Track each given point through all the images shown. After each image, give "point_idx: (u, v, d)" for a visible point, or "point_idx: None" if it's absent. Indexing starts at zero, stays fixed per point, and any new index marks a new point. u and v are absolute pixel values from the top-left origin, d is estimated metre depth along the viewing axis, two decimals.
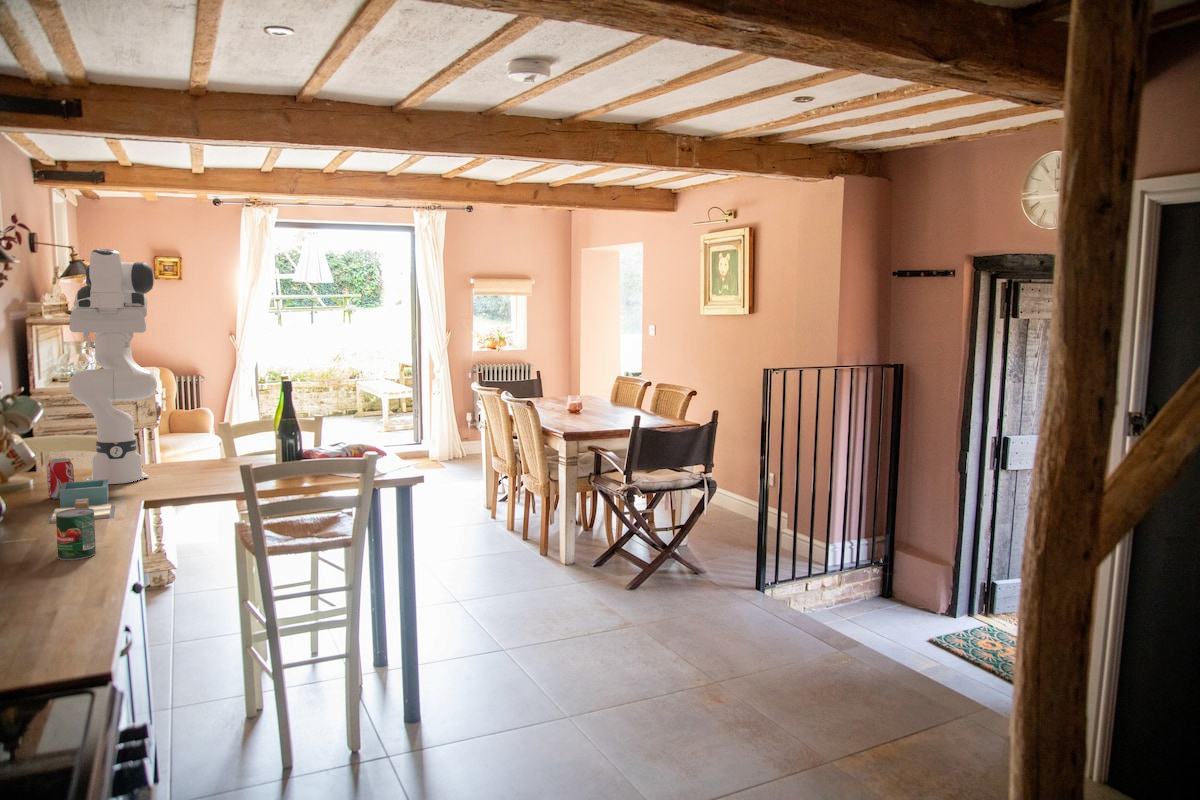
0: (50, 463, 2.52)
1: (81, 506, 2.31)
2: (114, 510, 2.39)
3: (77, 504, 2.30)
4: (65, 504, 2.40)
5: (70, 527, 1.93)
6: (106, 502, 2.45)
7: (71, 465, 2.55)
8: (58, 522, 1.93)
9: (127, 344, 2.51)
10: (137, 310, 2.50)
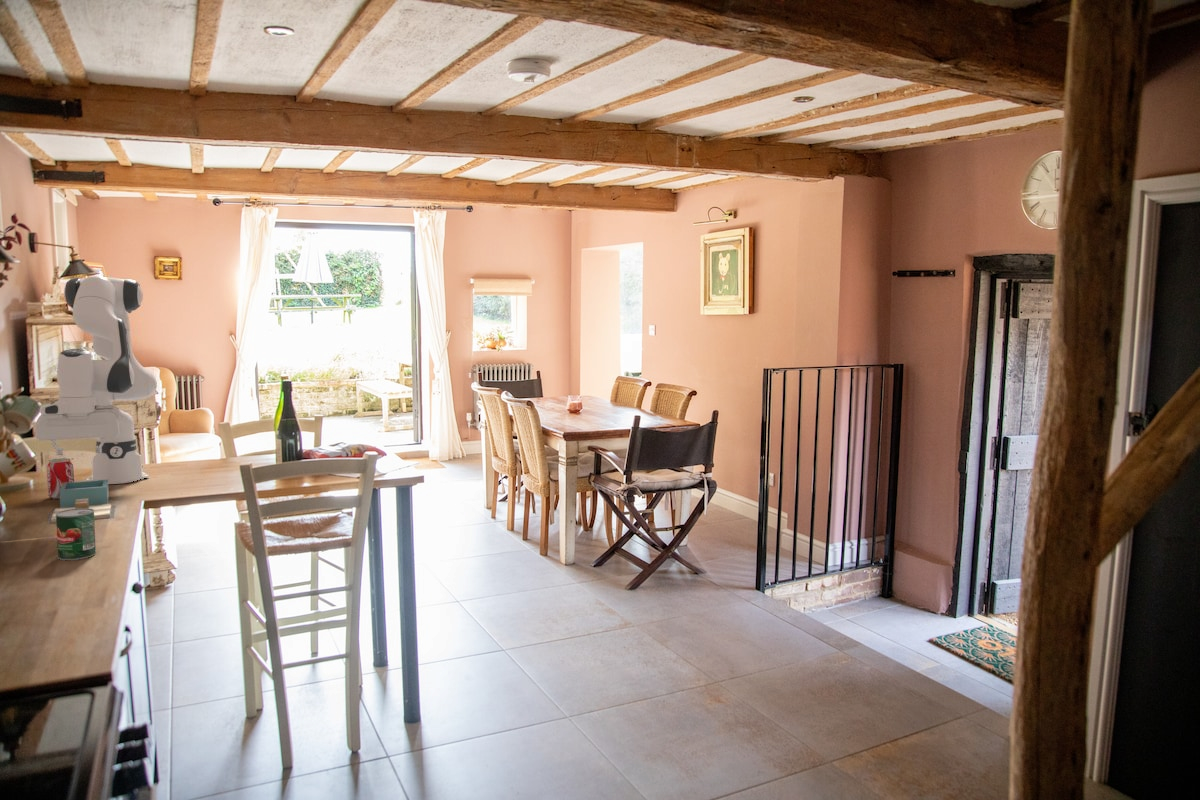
0: (50, 463, 2.52)
1: (81, 506, 2.31)
2: (114, 510, 2.39)
3: (77, 504, 2.30)
4: (65, 504, 2.40)
5: (70, 527, 1.93)
6: (106, 502, 2.45)
7: (71, 465, 2.55)
8: (58, 522, 1.93)
9: (98, 450, 2.33)
10: (109, 413, 2.33)
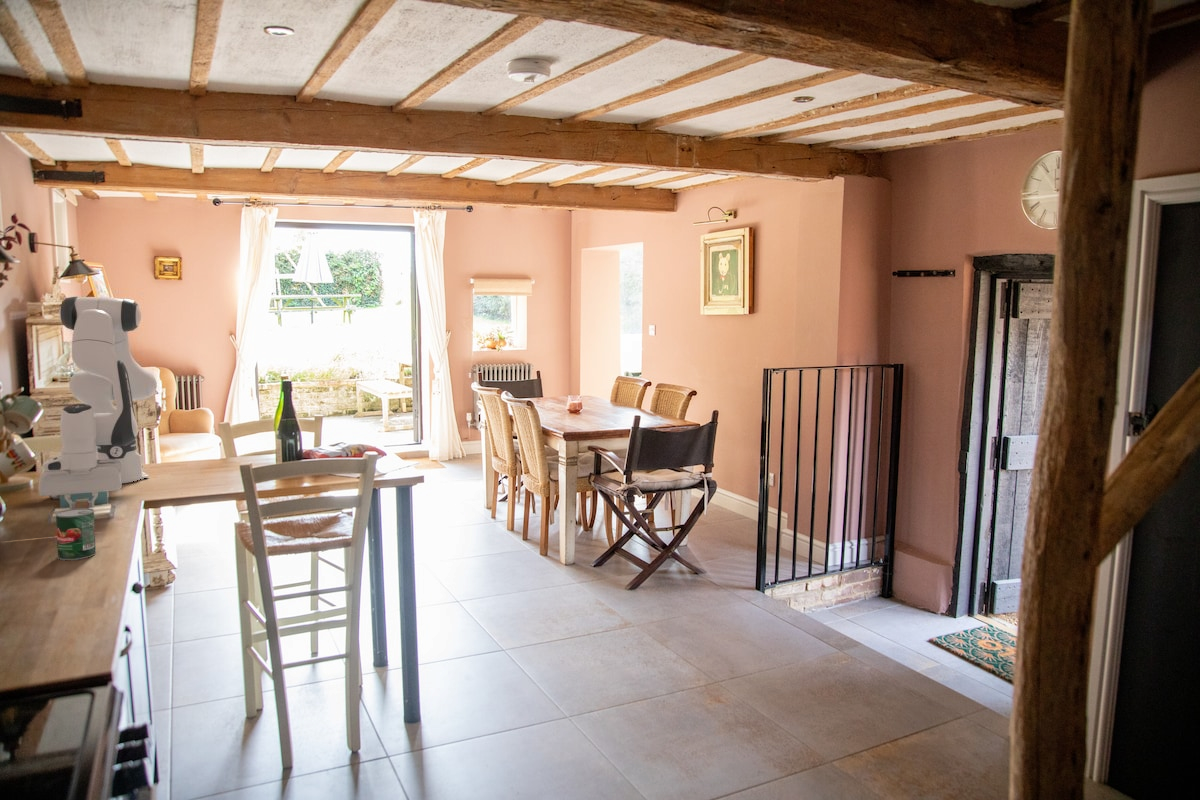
0: None
1: (81, 506, 2.31)
2: (114, 510, 2.39)
3: (77, 504, 2.30)
4: (65, 504, 2.40)
5: (70, 527, 1.93)
6: (106, 502, 2.45)
7: None
8: (58, 522, 1.93)
9: (91, 504, 2.34)
10: (112, 467, 2.35)
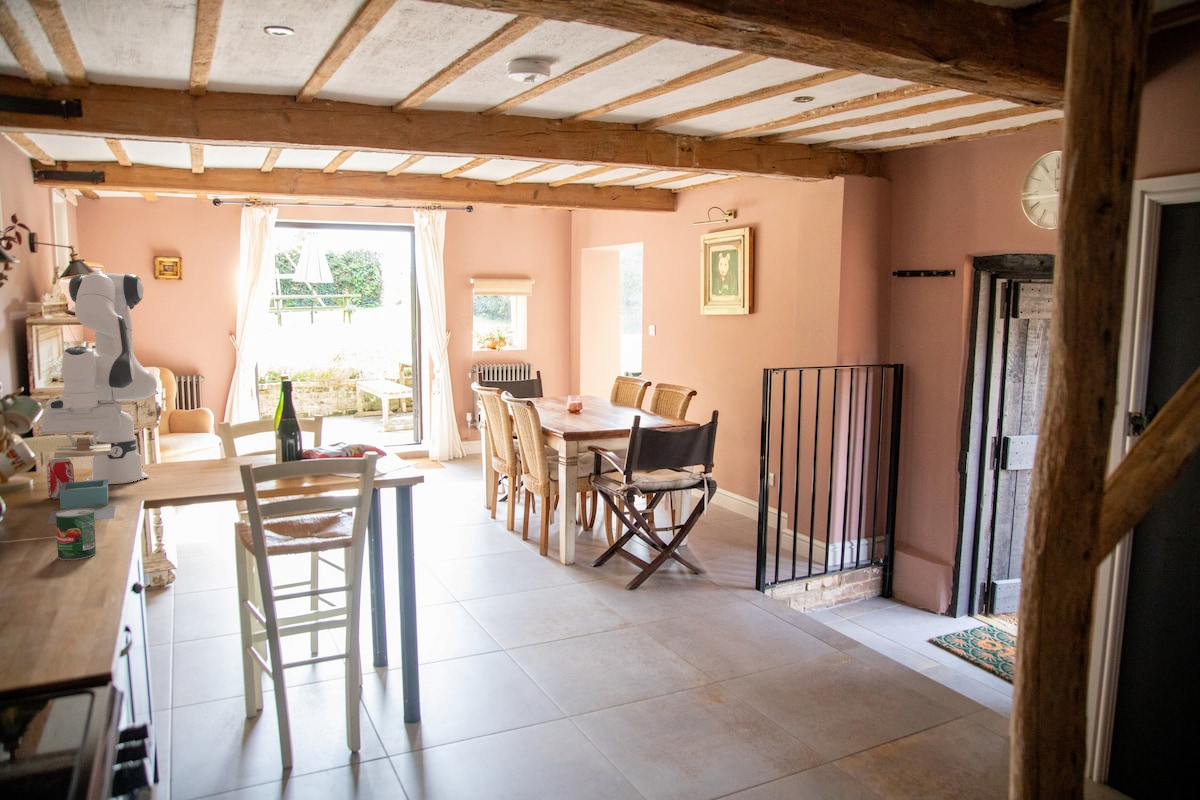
0: (50, 463, 2.52)
1: (82, 444, 2.42)
2: (114, 510, 2.39)
3: (79, 442, 2.42)
4: (65, 504, 2.40)
5: (70, 527, 1.93)
6: (106, 502, 2.45)
7: (71, 465, 2.55)
8: (58, 522, 1.93)
9: (92, 443, 2.45)
10: (111, 408, 2.46)
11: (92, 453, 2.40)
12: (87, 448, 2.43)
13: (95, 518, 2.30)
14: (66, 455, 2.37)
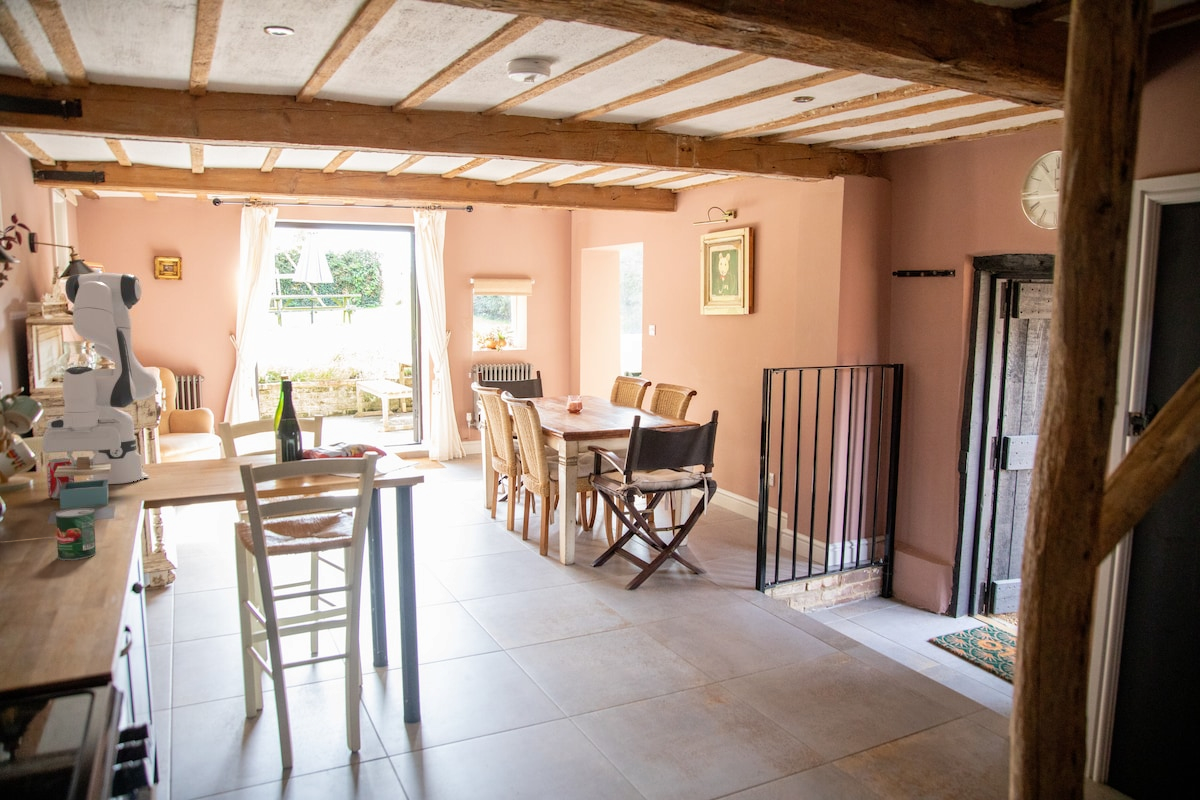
0: (50, 463, 2.52)
1: (82, 463, 2.43)
2: (114, 510, 2.39)
3: (79, 461, 2.43)
4: (65, 504, 2.40)
5: (70, 527, 1.93)
6: (106, 502, 2.45)
7: None
8: (58, 522, 1.93)
9: (92, 462, 2.46)
10: (111, 427, 2.47)
11: (92, 472, 2.41)
12: (87, 467, 2.44)
13: (95, 518, 2.30)
14: (66, 474, 2.38)
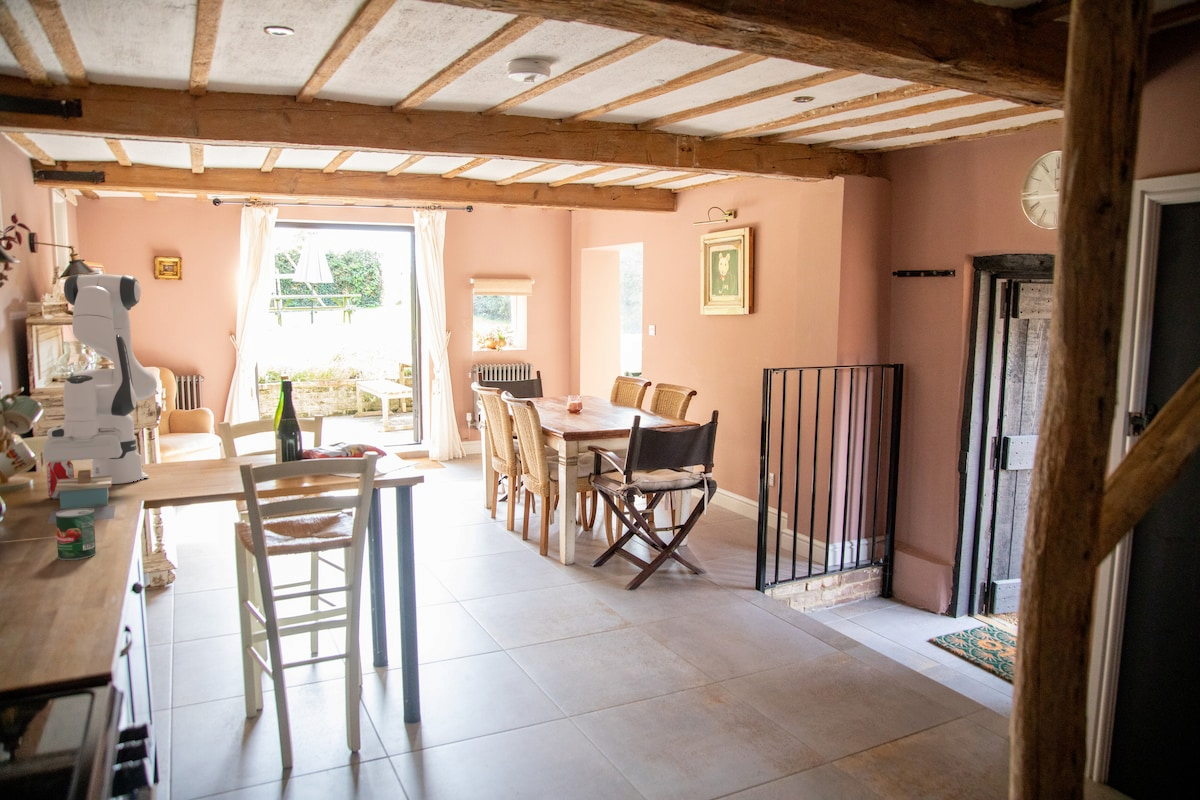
0: (50, 463, 2.52)
1: (84, 476, 2.44)
2: (114, 510, 2.39)
3: (80, 474, 2.44)
4: (65, 504, 2.40)
5: (70, 527, 1.93)
6: (106, 502, 2.45)
7: (71, 465, 2.55)
8: (58, 522, 1.93)
9: (98, 470, 2.48)
10: (112, 436, 2.48)
11: (93, 486, 2.42)
12: (88, 481, 2.45)
13: (95, 518, 2.30)
14: (67, 488, 2.39)
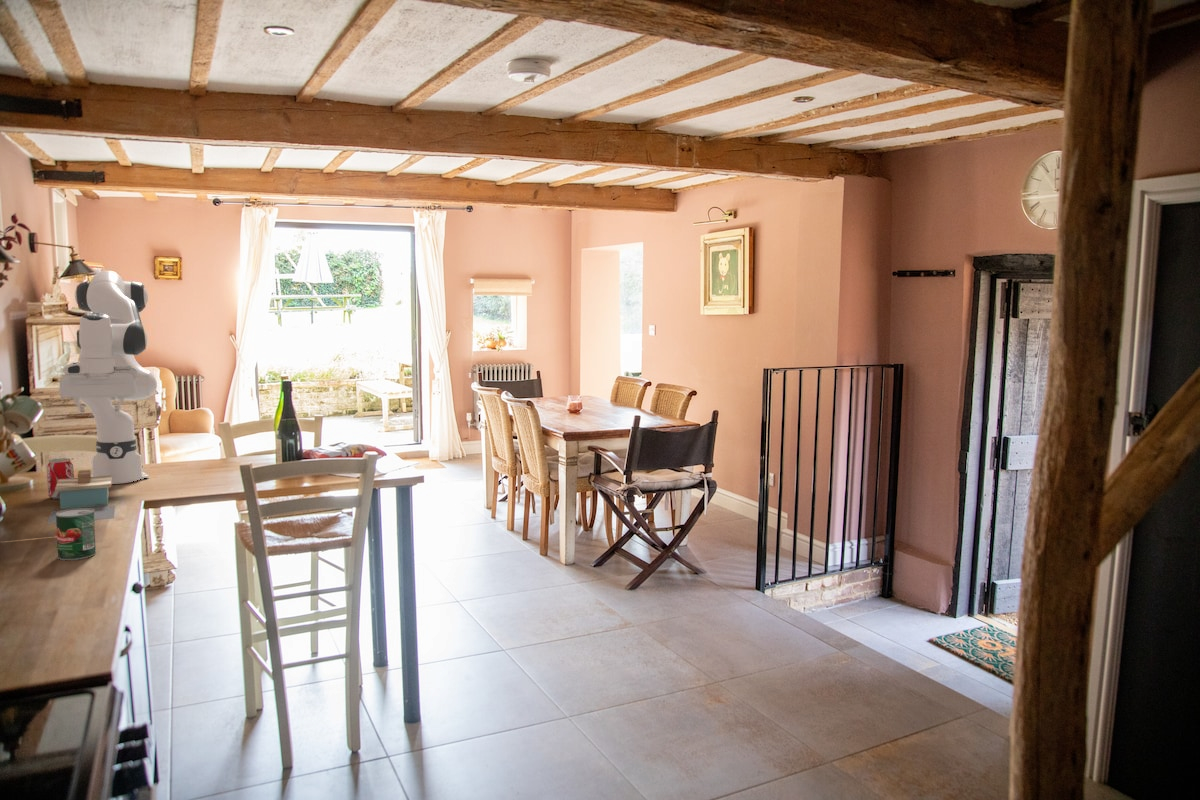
0: (50, 463, 2.52)
1: (84, 476, 2.44)
2: (114, 510, 2.39)
3: (80, 474, 2.44)
4: (65, 504, 2.40)
5: (70, 527, 1.93)
6: (106, 502, 2.45)
7: (71, 465, 2.55)
8: (58, 522, 1.93)
9: (117, 408, 2.49)
10: (127, 374, 2.49)
11: (93, 486, 2.42)
12: (88, 481, 2.45)
13: (95, 518, 2.30)
14: (67, 488, 2.39)
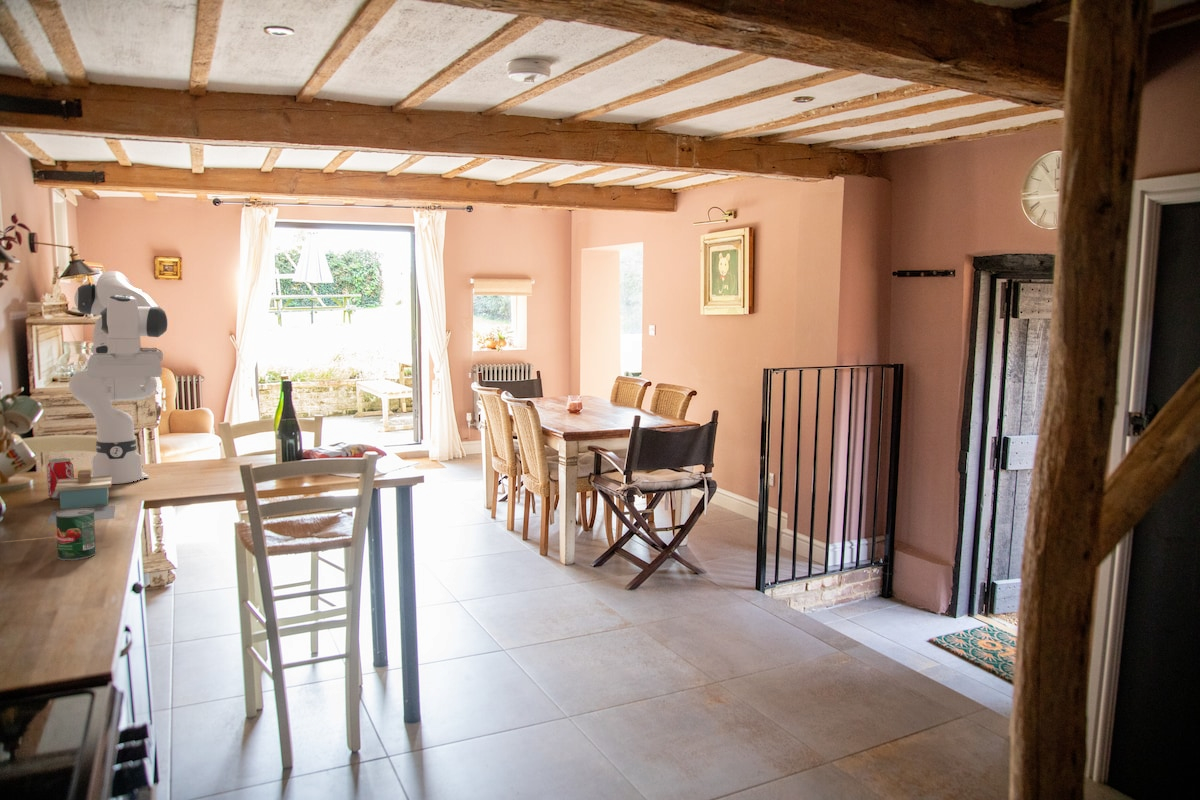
0: (50, 463, 2.52)
1: (84, 476, 2.44)
2: (114, 510, 2.39)
3: (80, 474, 2.44)
4: (65, 504, 2.40)
5: (70, 527, 1.93)
6: (106, 502, 2.45)
7: (71, 465, 2.55)
8: (58, 522, 1.93)
9: (143, 388, 2.53)
10: (153, 355, 2.53)
11: (93, 486, 2.42)
12: (88, 481, 2.45)
13: (95, 518, 2.30)
14: (67, 488, 2.39)
